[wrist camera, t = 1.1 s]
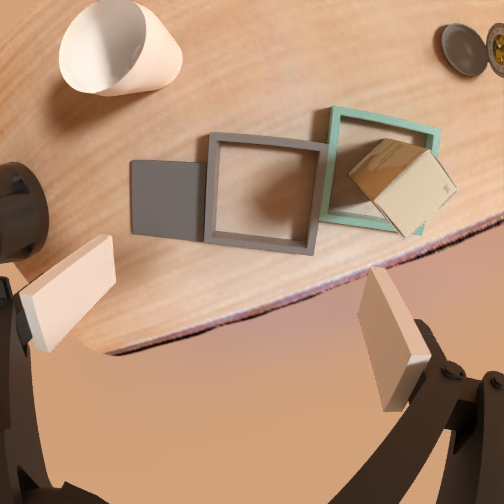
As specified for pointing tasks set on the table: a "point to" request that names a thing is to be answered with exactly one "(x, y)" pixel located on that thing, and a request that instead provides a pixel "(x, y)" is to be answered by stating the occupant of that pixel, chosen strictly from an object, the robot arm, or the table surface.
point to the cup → (118, 50)
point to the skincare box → (403, 184)
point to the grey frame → (260, 241)
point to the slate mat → (169, 199)
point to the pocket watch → (473, 49)
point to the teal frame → (332, 140)
